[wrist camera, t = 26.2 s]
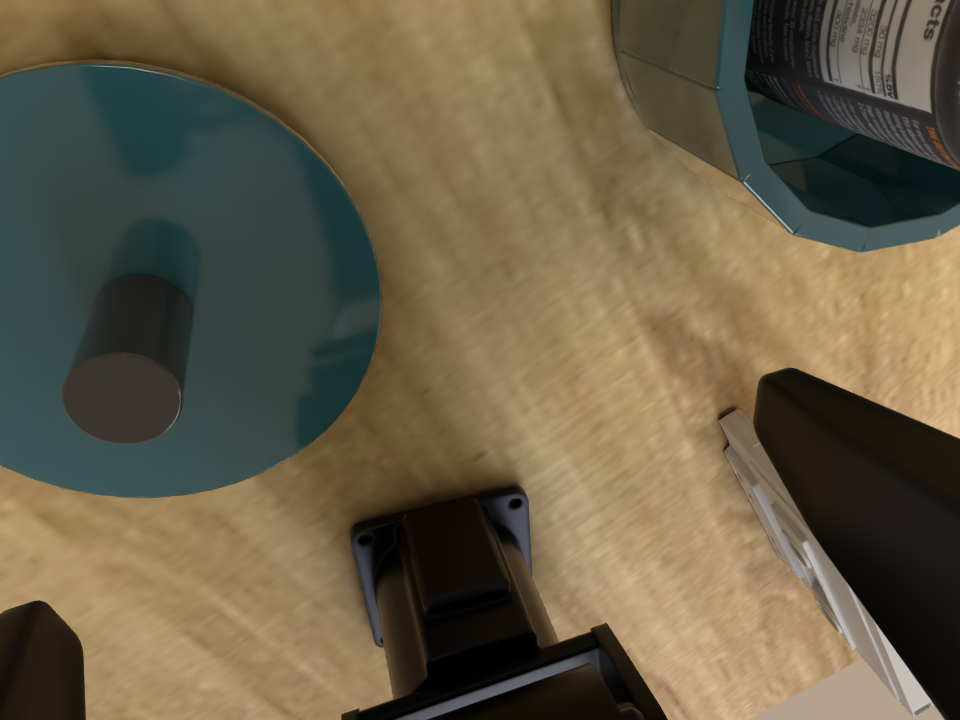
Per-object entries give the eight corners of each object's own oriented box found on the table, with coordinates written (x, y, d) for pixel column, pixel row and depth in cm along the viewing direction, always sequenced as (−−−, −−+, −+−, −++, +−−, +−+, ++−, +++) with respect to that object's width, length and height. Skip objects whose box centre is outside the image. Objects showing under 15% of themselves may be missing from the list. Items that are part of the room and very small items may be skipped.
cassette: (820, 557, 35) (946, 703, 29) (786, 578, 35) (904, 728, 29) (746, 395, 28) (890, 540, 22) (704, 422, 28) (834, 573, 22)
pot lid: (462, 274, 22) (511, 362, 18) (198, 532, 25) (188, 661, 21) (72, -76, 16) (9, -66, 12) (-237, 323, 18) (-382, 452, 14)
